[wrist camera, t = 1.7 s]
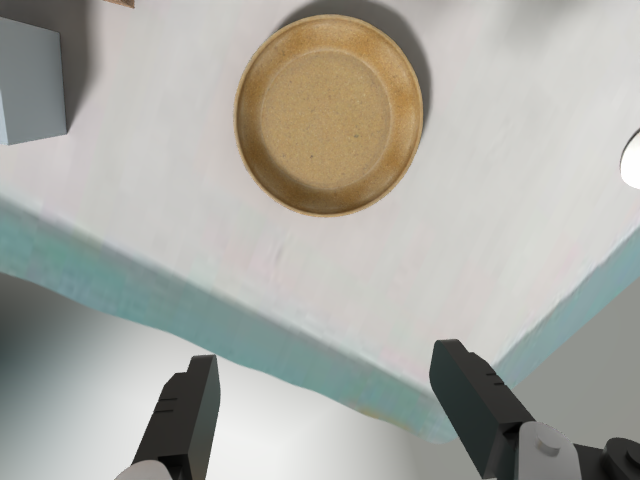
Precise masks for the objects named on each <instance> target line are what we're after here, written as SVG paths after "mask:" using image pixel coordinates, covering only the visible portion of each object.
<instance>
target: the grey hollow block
mask: <svg viewBox="0 0 640 480" xmlns="http://www.w3.org/2000/svg"><path fill="white" fill-rule="evenodd" d="M65 134H67V131H66V117H65V103H64V90H63V76H62V62H61V49H60V35H59V32H55V31H51V30H48V29H44V28H40V27H36V26H33V25H29V24H25V23H22V22H18V21H14V20H10V19H7V18H3V17H0V144H4V145H13V144H18V143H23V142H28V141H34V140H39V139H44V138H49V137H55V136H60V135H65Z"/></svg>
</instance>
